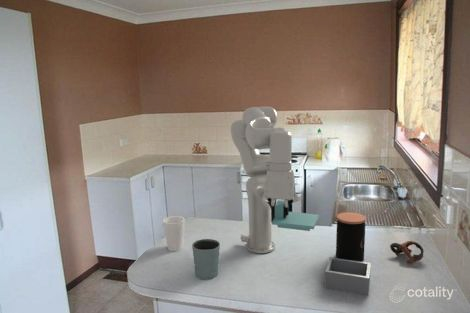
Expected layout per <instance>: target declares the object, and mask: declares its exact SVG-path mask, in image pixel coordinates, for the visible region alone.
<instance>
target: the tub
mask: <svg viewBox="0 0 470 313" xmlns="http://www.w3.org/2000/svg"><path fill="white" fill-rule="evenodd" d="M327 261H328V262H327V265H326V269H325V271H324V272H325V273H324V274H325V275H324V289H329V290H334V291H342V292H345V293H346V292H348V293H353V294H359V295H365V296H369V295H370V294H369V293H370V283H371V282H370V281H371V280H370V279H371V263H372V262H365V261H362V262H360V261H352V260H345V259H338V258H337V257H329V258H328V260H327Z"/></svg>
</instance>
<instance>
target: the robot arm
mask: <svg viewBox="0 0 470 313" xmlns="http://www.w3.org/2000/svg"><path fill="white" fill-rule="evenodd" d="M277 122H278V113H277V111H276V109H274V108H273V107H272V106H251V107H248V108H246V109H245V110H244V111H243V113H242V118H241V119H238V120H235V121H233V122H232V123H231V125H230V135H231V139H232V141H233V143H234V144H233V145H234V146H235V147H236V149H237V150H238V152H239V155H240V159H241V162H242V167H243V169H244V173H245V175H246V176H247V177H248V179H247V180H246V183H245V189H246V196H247V202H248V203H247V205H248V231H249V232H248V235H243V234H241V235H240V240H241V243H242V242H243V243H246V244H245V249H246V251H248V252H250V253H254V254H268V253H271V252H273V251H274V250H275V249H276V243H275V242H274V241H273V240H272V215H273V218H275V204H276V203H277V200H280V201H284V202H285V205H284V218H286V216H287V215H288V214H289V212H290V211H289V210H290V209H289V208H290V207H289V206H291V204H293V203H296V202H298V201H299V200H300V198H299V194H298V193H297V192H296V180H295V179H296V178H295V173H294V170H293V169H292V148H293V147H292V142H293V141H292V133H291V131H288V130H286V129H285V127H280V126H279V127H275V126H276V124H277ZM260 150H269V154H261V153H260ZM266 200H267V201H266ZM269 203H270V204H269Z"/></svg>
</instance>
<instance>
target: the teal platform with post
mask: <svg viewBox="0 0 470 313" xmlns="http://www.w3.org/2000/svg"><path fill="white" fill-rule="evenodd" d="M284 205H285V202H284V200H276V204H275V217H273V220H271V225H275V226H277V228H280V229H288V230H298V231H306V232H310V231H311V230H315V227H316V225H317V222H318V219H319V217H320V215H319V214H314V213H306V212H298V211H297V212H295V211H289V214H288V215H287V216H286V218H284Z"/></svg>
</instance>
